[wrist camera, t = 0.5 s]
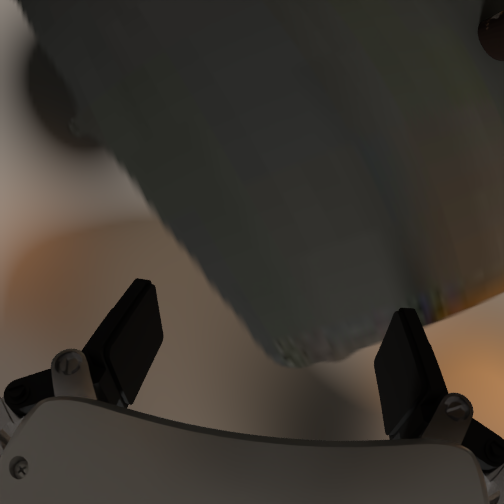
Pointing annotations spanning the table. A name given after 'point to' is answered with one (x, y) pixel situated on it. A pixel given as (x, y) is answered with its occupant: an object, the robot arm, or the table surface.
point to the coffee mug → (493, 36)
